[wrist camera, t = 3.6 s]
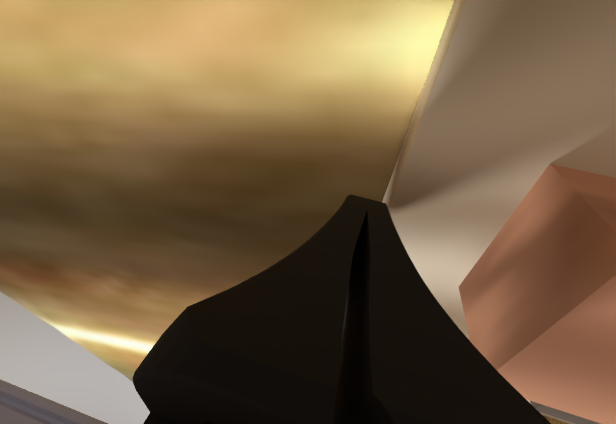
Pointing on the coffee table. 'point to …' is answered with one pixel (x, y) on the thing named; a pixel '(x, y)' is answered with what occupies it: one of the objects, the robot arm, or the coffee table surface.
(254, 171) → the coffee table surface
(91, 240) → the coffee table surface
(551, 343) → the block
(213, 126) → the coffee table surface
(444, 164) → the deck
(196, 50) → the coffee table surface
